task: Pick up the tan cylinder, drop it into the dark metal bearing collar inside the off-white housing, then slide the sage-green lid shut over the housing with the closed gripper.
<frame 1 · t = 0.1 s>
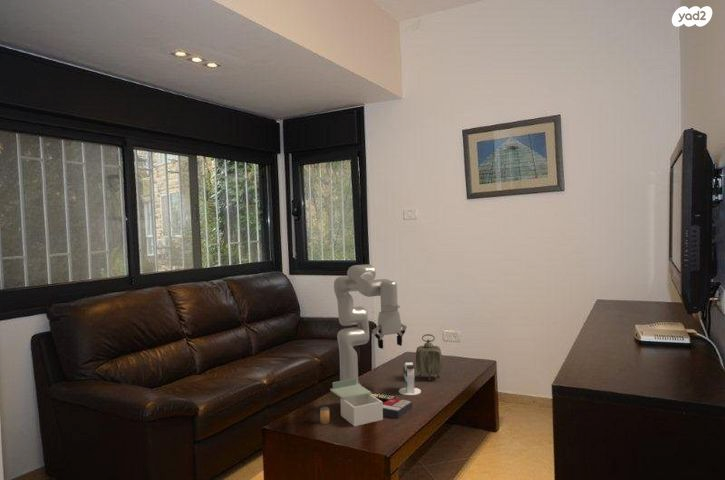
hand: (390, 346, 215), 31 cm above the table, tool pointing down, fingers open, 9 cm apart
tabletop clock: (429, 379, 266), on the table
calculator: (394, 412, 221), on the table
tan cylinder: (325, 421, 211), on the table
housing: (361, 417, 214), on the table
lid: (350, 388, 224), point 10 cm above the table, slide at 11.0 cm
white pedestal stand: (409, 391, 247), on the table
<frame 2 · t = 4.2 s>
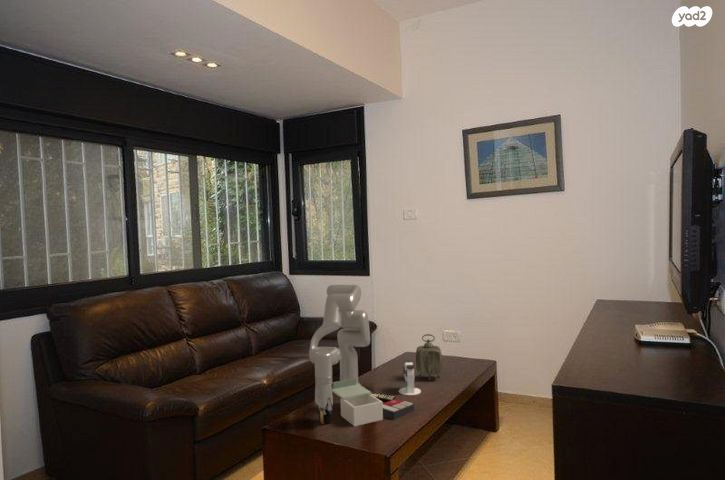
hand: (325, 420, 211), 1 cm above the table, tool pointing down, fingers closed on tan cylinder, 4 cm apart
tan cylinder: (325, 421, 211), on the table, touching gripper
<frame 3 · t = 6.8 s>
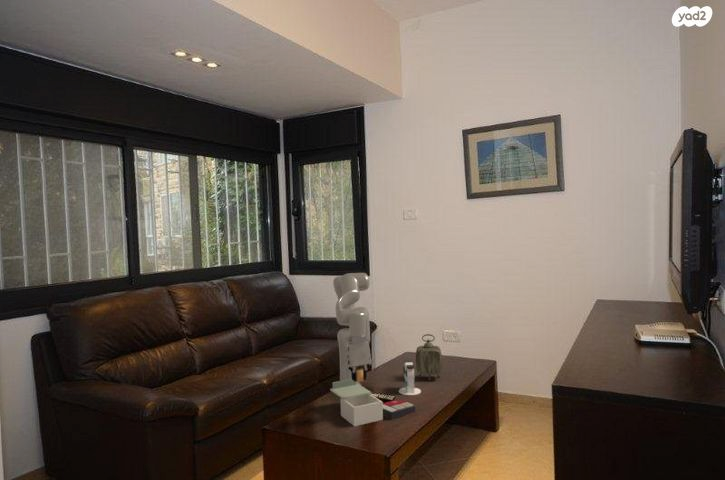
hand: (359, 379, 214), 17 cm above the table, tool pointing down, fingers closed on tan cylinder, 4 cm apart
tan cylinder: (359, 380, 214), point 17 cm above the table, touching gripper
when the fingers open (4 cm above the table, at t = 10.3 s): tan cylinder stays where it is, resting on housing.
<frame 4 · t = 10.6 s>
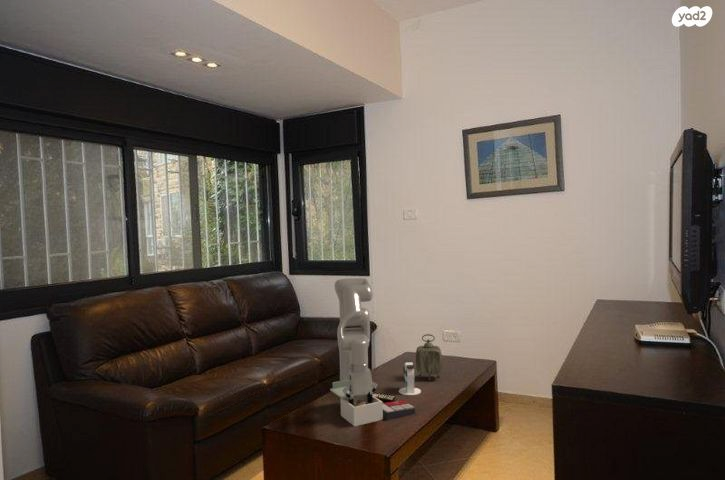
hand: (360, 404, 215), 5 cm above the table, tool pointing down, fingers open, 8 cm apart
tan cylinder: (361, 414, 214), point 1 cm above the table, touching housing
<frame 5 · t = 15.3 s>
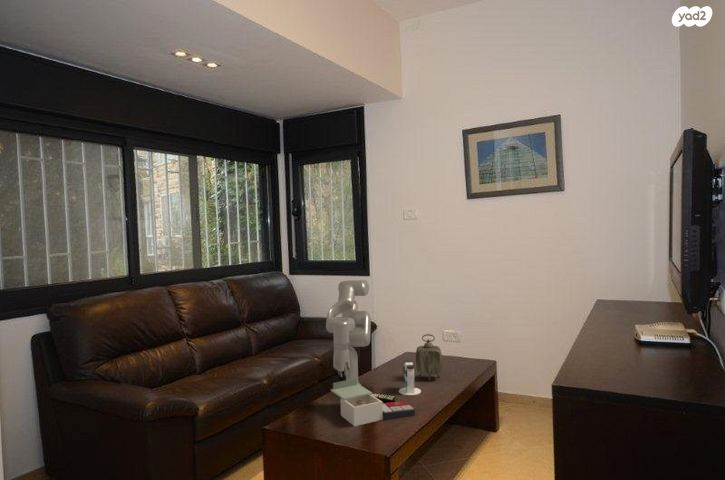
hand: (342, 384, 231), 10 cm above the table, tool pointing down, fingers closed
lid: (351, 388, 223), point 10 cm above the table, slide at 10.3 cm, touching gripper
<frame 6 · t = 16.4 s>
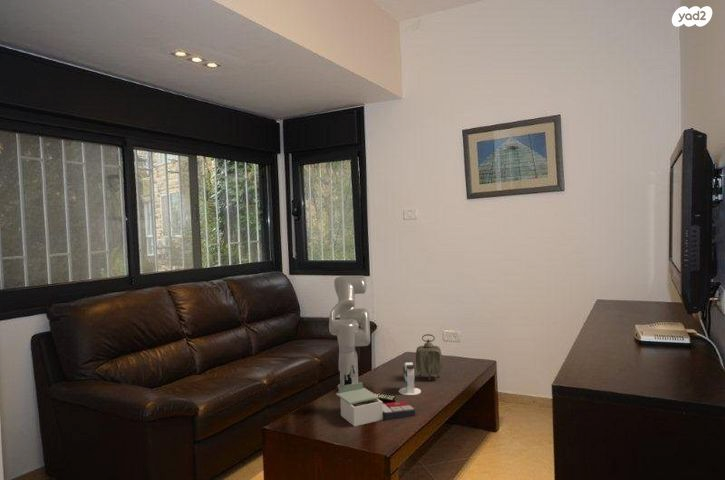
hand: (348, 387, 226), 10 cm above the table, tool pointing down, fingers closed
lid: (356, 392, 218), point 10 cm above the table, slide at 4.0 cm, touching gripper
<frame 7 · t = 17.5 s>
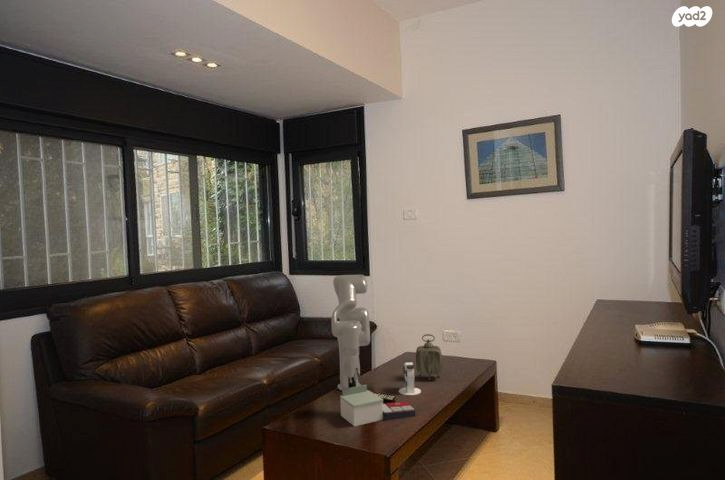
hand: (352, 390, 222), 10 cm above the table, tool pointing down, fingers closed
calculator: (395, 415, 217), on the table, touching housing
lid: (361, 395, 214), point 10 cm above the table, slide at -0.2 cm, touching gripper
everything else where it was.
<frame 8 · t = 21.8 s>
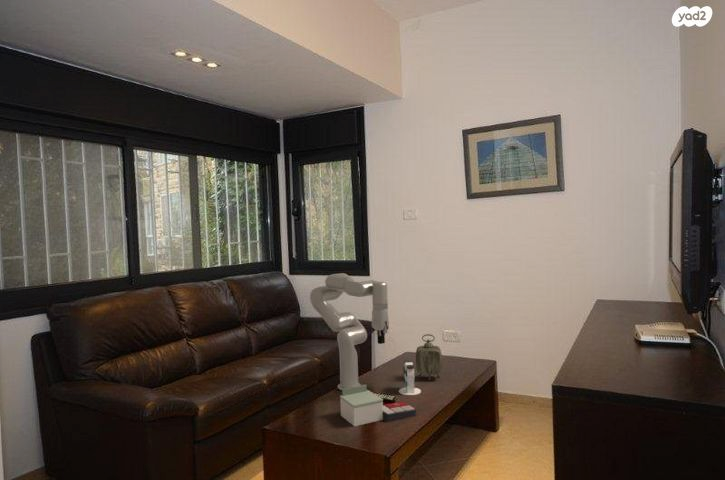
hand: (381, 343, 239), 27 cm above the table, tool pointing down, fingers closed
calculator: (395, 416, 216), on the table
lid: (361, 395, 214), point 10 cm above the table, slide at 0.0 cm
everything else where it was.
at the end: tan cylinder 0.0 cm off-centre on the housing, point 1.2 cm above the housing's base; tan cylinder tilted 0°; lid slide at 0.0 cm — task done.
